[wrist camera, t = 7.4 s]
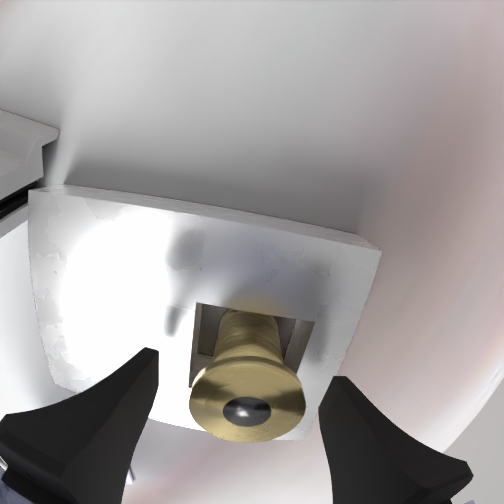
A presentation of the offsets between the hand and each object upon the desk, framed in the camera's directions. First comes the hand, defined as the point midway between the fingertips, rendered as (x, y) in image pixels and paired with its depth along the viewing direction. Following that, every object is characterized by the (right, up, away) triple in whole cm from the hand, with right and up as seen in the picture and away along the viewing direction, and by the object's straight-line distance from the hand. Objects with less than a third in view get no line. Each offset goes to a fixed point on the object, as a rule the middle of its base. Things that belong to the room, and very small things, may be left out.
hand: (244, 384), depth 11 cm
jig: (-3, +2, +4) cm, 6 cm away
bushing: (0, +1, +5) cm, 5 cm away
